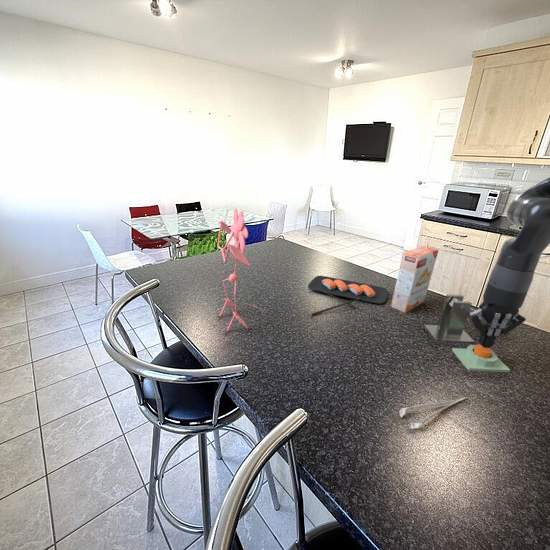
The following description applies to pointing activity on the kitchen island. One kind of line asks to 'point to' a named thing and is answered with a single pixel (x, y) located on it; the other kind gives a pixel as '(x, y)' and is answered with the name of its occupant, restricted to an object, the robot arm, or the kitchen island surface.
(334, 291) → the sushi plate
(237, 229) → the figurine
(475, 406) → the kitchen island surface
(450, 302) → the lever
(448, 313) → the bracket
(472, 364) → the button block
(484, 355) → the button
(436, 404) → the tweezers
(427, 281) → the cracker box
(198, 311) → the kitchen island surface
